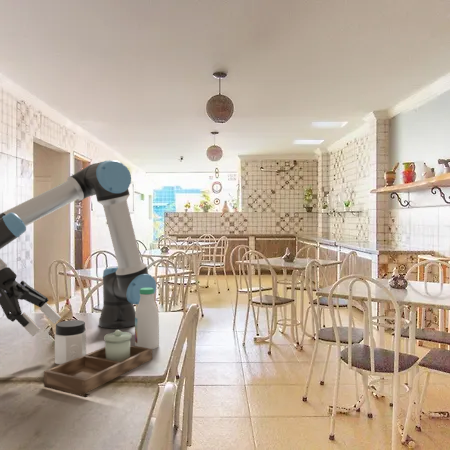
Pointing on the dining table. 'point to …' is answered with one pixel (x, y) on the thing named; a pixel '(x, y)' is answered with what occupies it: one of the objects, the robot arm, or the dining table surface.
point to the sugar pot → (117, 346)
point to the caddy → (92, 370)
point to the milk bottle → (147, 321)
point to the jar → (69, 341)
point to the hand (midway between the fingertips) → (47, 326)
